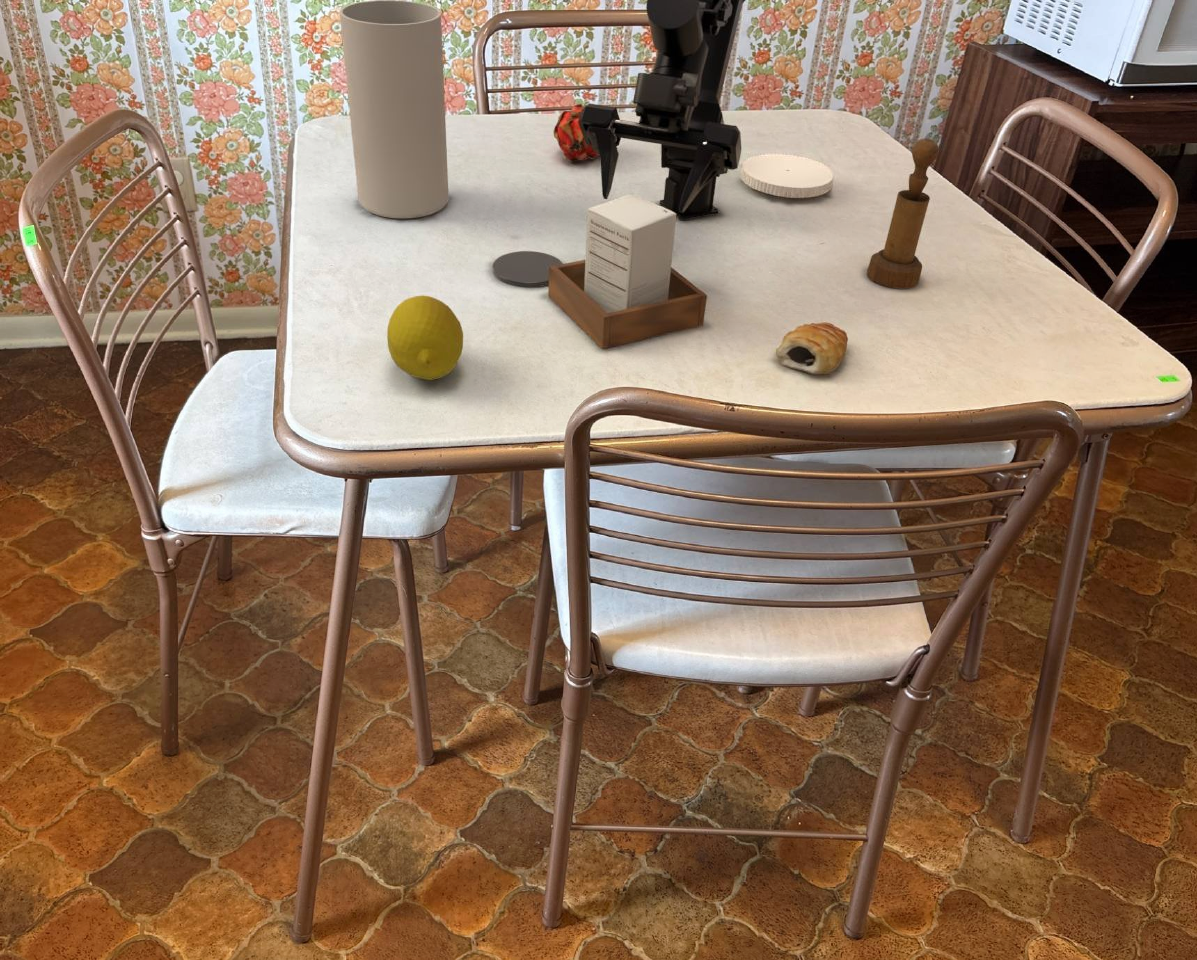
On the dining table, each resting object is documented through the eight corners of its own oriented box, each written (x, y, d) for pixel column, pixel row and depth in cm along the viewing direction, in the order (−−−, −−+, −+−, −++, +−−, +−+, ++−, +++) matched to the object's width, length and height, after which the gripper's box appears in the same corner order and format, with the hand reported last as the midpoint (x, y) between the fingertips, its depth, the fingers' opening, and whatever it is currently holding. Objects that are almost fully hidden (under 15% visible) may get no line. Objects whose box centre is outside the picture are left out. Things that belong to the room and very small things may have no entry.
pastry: (806, 331, 116) (813, 302, 114) (859, 350, 114) (867, 321, 111) (770, 362, 110) (776, 332, 108) (825, 384, 107) (832, 353, 105)
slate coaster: (544, 250, 130) (544, 246, 129) (576, 279, 124) (576, 275, 123) (481, 262, 126) (481, 257, 126) (510, 292, 120) (510, 288, 120)
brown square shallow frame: (644, 277, 125) (646, 247, 123) (703, 325, 116) (707, 295, 114) (548, 296, 120) (548, 266, 117) (602, 349, 111) (604, 317, 108)
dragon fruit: (590, 153, 164) (579, 189, 155) (549, 120, 161) (536, 156, 152) (622, 116, 158) (613, 152, 150) (580, 81, 155) (568, 116, 147)
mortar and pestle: (920, 272, 131) (958, 136, 120) (916, 293, 126) (955, 153, 115) (870, 263, 132) (902, 127, 121) (863, 283, 127) (897, 143, 116)
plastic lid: (849, 194, 151) (853, 178, 150) (782, 211, 145) (785, 194, 143) (787, 164, 160) (790, 148, 159) (721, 178, 154) (723, 162, 152)
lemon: (463, 397, 101) (461, 328, 97) (386, 397, 101) (379, 328, 96) (465, 343, 110) (463, 277, 105) (394, 343, 109) (388, 277, 104)
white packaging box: (624, 290, 122) (631, 191, 114) (668, 313, 118) (679, 212, 110) (580, 308, 118) (585, 207, 110) (625, 332, 114) (633, 229, 106)
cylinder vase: (341, 209, 137) (319, 15, 121) (389, 179, 146) (374, -5, 131) (420, 227, 133) (408, 30, 118) (464, 196, 143) (458, 9, 127)
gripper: (587, 29, 110) (551, 158, 108) (751, 52, 106) (717, 186, 105) (603, 83, 121) (571, 202, 119) (753, 106, 117) (722, 229, 115)
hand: (642, 204), depth 114 cm, fingers open, 9 cm apart
